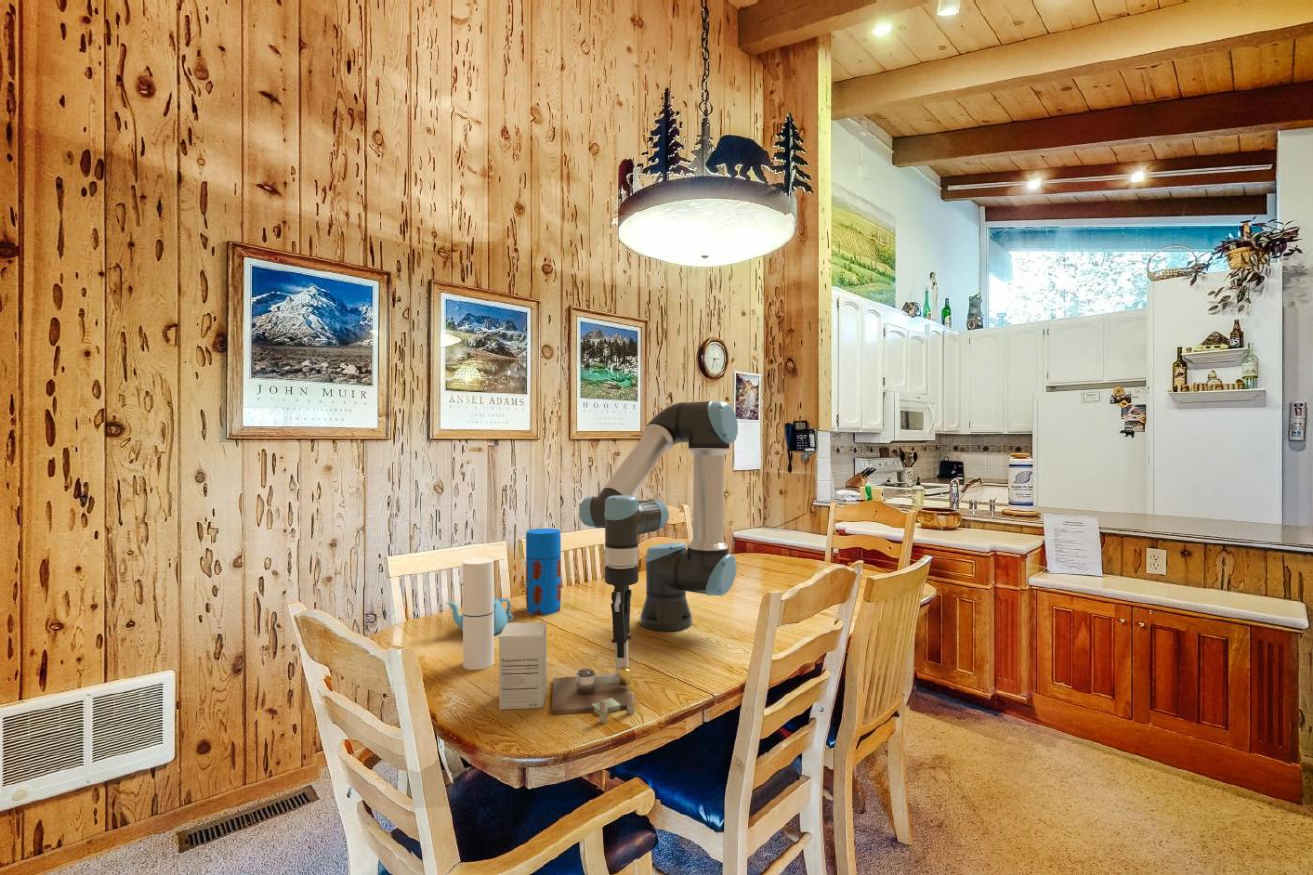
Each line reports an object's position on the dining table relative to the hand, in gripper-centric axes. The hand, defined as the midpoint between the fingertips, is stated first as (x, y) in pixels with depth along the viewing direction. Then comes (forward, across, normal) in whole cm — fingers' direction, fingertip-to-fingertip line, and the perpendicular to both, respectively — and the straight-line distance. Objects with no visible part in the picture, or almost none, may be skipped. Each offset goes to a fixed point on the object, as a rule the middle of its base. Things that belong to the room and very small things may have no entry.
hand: (621, 669), depth 134 cm
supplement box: (+3, +11, -19) cm, 22 cm away
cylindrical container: (+3, -6, -36) cm, 37 cm away
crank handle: (+2, +6, -3) cm, 7 cm away
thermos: (+3, -52, -34) cm, 62 cm away
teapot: (+3, -30, -46) cm, 54 cm away
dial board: (+3, +10, -5) cm, 11 cm away
